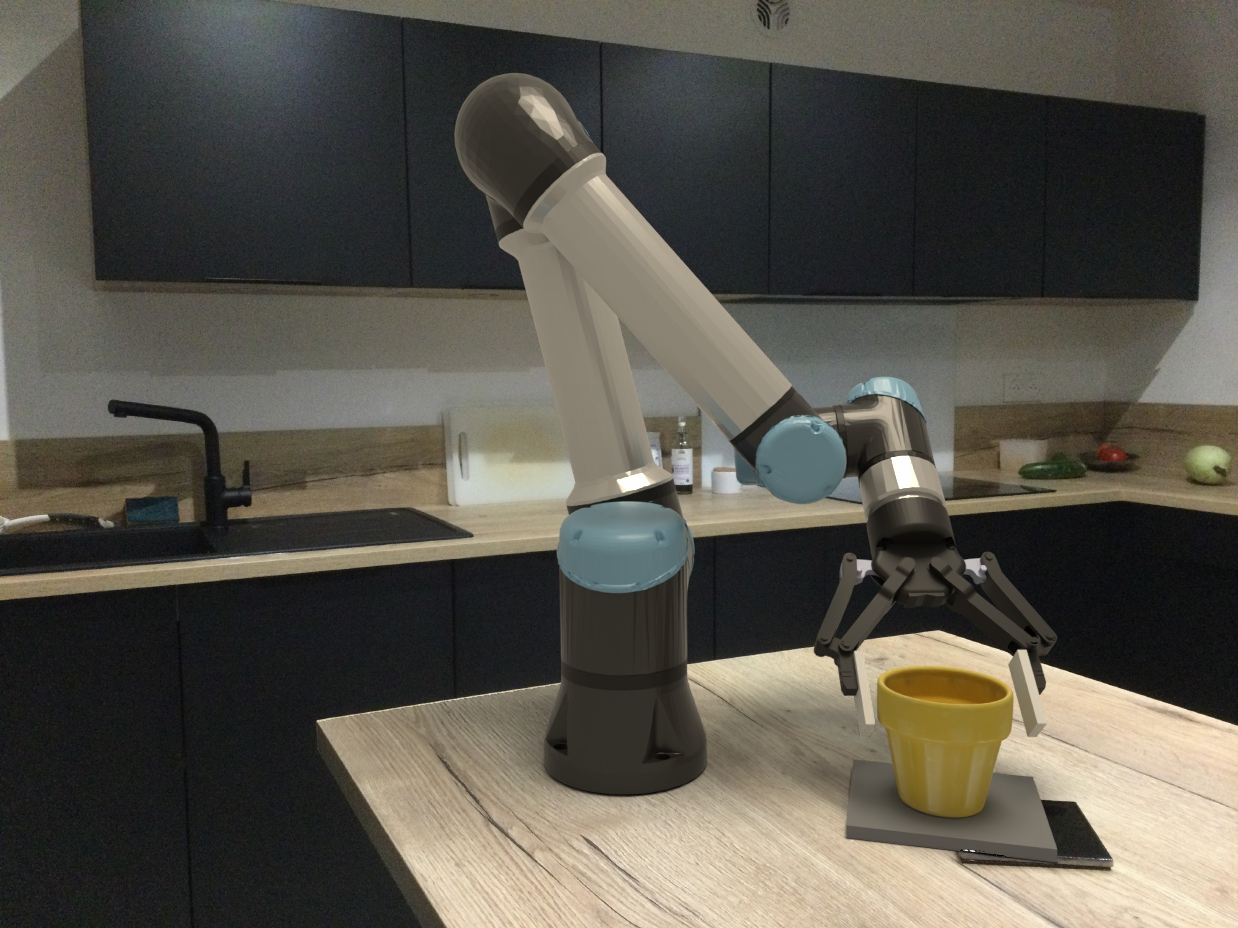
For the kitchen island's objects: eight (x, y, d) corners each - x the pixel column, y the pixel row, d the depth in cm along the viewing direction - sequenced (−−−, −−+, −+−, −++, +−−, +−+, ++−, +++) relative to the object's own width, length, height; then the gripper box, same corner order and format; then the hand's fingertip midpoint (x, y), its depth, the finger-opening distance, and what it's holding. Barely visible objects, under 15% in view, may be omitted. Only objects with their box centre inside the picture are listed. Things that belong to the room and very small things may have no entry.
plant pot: (951, 765, 85) (953, 657, 84) (1039, 816, 75) (1043, 694, 74) (850, 784, 82) (852, 671, 81) (929, 839, 72) (932, 712, 71)
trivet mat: (846, 837, 74) (846, 825, 74) (853, 769, 87) (853, 759, 87) (1057, 862, 70) (1057, 849, 70) (1032, 787, 83) (1032, 776, 83)
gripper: (1027, 537, 94) (1091, 747, 81) (770, 539, 94) (792, 749, 81) (1052, 491, 88) (1126, 710, 75) (777, 494, 89) (803, 711, 75)
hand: (952, 731), depth 78 cm, fingers open, 13 cm apart
